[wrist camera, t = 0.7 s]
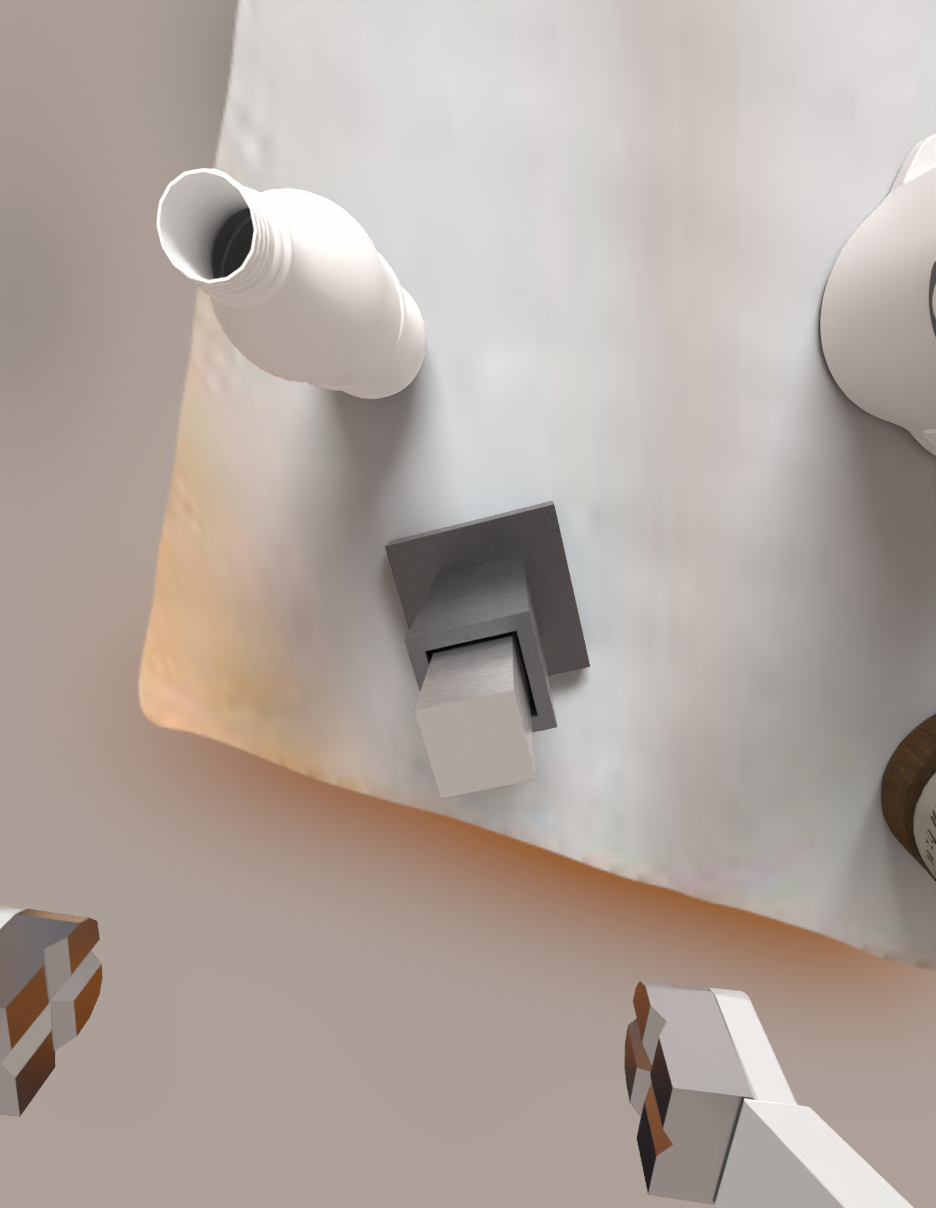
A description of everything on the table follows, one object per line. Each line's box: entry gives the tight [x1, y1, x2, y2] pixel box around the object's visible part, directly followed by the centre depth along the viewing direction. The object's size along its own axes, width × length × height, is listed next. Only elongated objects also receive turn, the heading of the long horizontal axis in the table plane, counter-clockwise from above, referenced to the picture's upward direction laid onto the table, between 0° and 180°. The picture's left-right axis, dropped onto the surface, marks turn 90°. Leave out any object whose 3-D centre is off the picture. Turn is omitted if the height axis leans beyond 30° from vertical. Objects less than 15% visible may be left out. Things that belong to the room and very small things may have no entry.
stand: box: [385, 501, 590, 732], centre depth 38 cm, size 12×12×17 cm
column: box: [414, 631, 537, 798], centre depth 34 cm, size 4×4×20 cm
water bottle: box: [157, 168, 426, 399], centre depth 30 cm, size 7×7×25 cm
